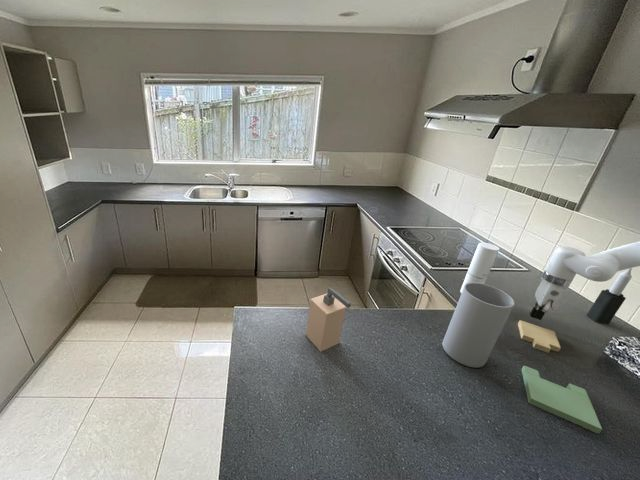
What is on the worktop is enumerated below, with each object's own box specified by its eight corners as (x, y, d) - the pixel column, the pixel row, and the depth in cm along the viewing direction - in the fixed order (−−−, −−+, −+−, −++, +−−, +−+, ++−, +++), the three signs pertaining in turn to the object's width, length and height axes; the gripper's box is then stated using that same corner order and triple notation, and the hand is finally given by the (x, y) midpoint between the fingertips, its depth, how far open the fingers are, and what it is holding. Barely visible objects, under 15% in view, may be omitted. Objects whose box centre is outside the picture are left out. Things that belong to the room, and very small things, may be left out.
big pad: (582, 393, 84) (585, 389, 83) (598, 434, 74) (602, 429, 73) (521, 369, 91) (523, 365, 91) (528, 403, 81) (531, 398, 80)
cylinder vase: (482, 375, 89) (513, 313, 79) (438, 353, 96) (461, 294, 87) (486, 353, 97) (515, 294, 88) (445, 334, 105) (467, 278, 95)
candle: (596, 322, 114) (630, 270, 104) (584, 314, 119) (616, 263, 109) (610, 324, 113) (646, 272, 104) (598, 316, 118) (631, 265, 108)
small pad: (551, 335, 106) (554, 331, 106) (560, 357, 97) (563, 353, 96) (517, 323, 112) (519, 319, 111) (522, 343, 102) (524, 339, 101)
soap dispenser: (305, 334, 102) (312, 284, 93) (323, 327, 106) (331, 278, 97) (328, 361, 92) (339, 307, 83) (348, 352, 95) (359, 299, 87)
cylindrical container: (482, 299, 126) (503, 250, 116) (466, 298, 126) (486, 249, 116) (471, 289, 132) (490, 242, 123) (456, 289, 132) (474, 241, 123)
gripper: (576, 292, 96) (552, 332, 104) (565, 273, 108) (544, 311, 115) (547, 284, 100) (525, 323, 108) (539, 267, 112) (520, 303, 119)
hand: (535, 317), depth 111 cm, fingers closed
